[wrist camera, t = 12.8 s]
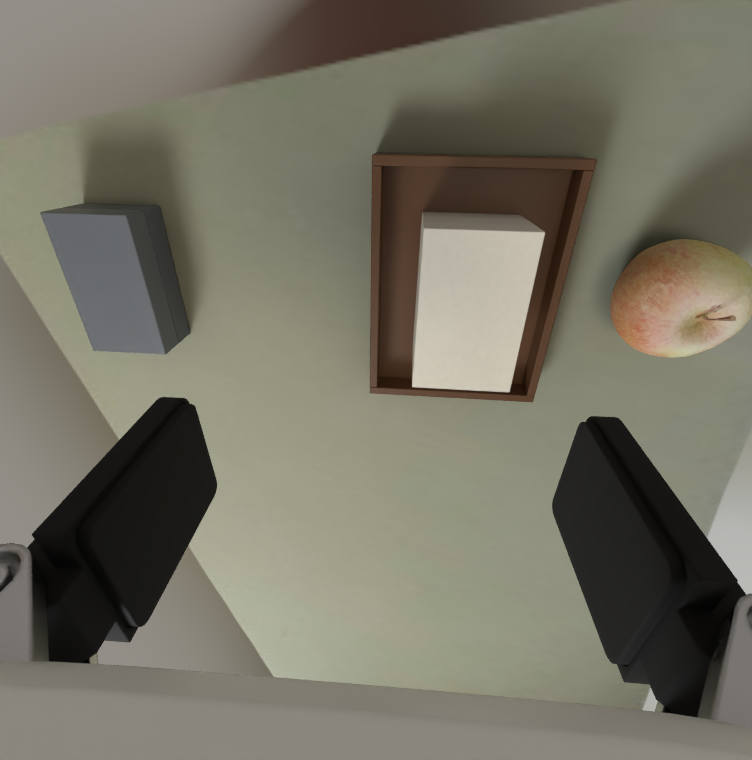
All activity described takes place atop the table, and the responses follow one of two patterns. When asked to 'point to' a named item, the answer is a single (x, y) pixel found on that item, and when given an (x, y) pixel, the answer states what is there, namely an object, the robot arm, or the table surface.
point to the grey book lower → (158, 261)
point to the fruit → (682, 298)
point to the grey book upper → (113, 278)
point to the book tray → (466, 195)
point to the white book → (473, 303)
